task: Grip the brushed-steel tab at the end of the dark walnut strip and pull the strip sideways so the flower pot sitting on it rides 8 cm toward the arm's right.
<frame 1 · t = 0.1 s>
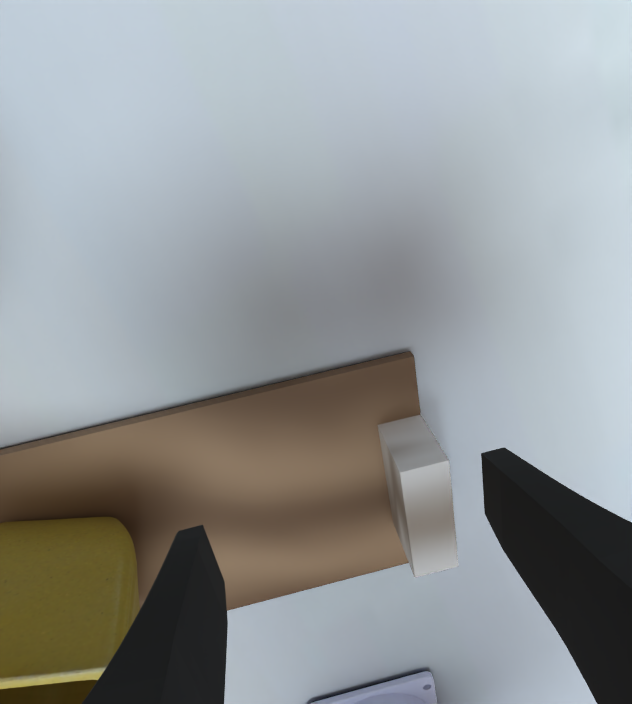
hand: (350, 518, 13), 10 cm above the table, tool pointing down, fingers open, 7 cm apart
flower pot: (65, 554, 24), resting on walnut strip
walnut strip: (197, 547, 23), point 2 cm above the table, slide at 0.0 cm, touching flower pot
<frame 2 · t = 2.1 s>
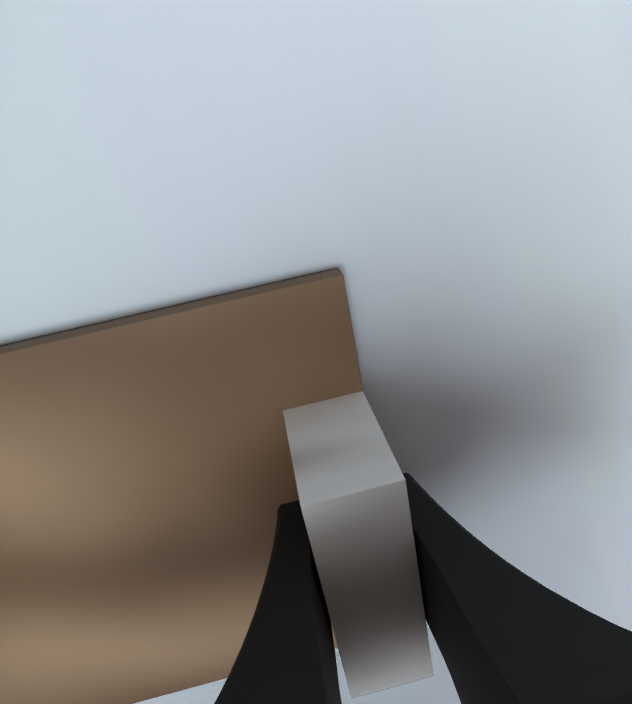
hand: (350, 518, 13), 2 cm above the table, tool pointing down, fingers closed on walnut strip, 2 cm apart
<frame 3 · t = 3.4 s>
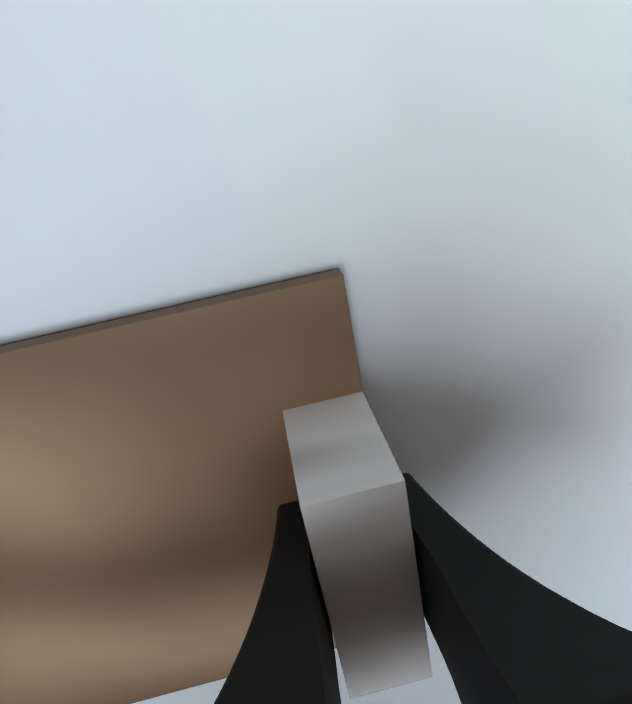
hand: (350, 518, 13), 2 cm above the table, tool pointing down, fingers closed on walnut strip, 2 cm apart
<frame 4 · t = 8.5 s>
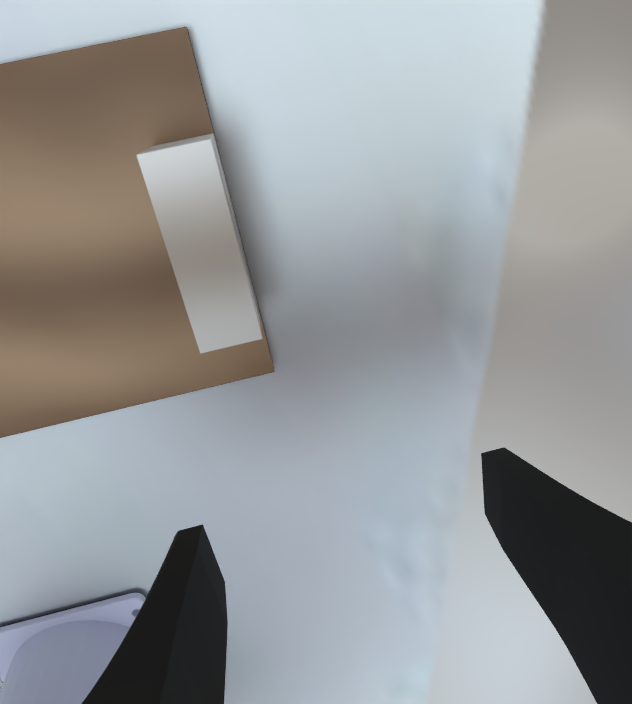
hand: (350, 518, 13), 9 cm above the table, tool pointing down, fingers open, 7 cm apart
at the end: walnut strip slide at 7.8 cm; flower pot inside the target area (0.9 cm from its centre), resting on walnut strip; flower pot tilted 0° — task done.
